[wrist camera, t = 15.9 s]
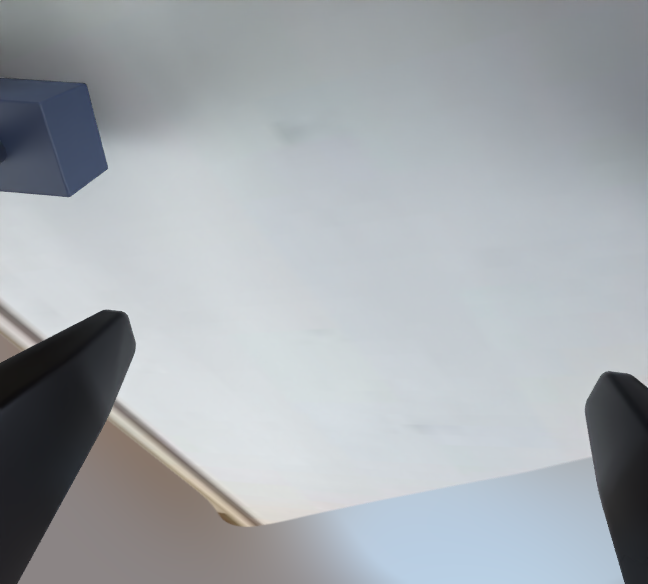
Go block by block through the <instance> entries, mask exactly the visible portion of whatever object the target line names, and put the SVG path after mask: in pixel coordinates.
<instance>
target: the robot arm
mask: <svg viewBox="0 0 648 584" xmlns="http://www.w3.org/2000/svg"><path fill="white" fill-rule="evenodd" d="M135 348H136V343H135V339H134V335H133V331H132V328H131V324H130V321H129V318H128V315H127V314H126V313H125V312H122V311H115V310H102V311H100V312H98V313H96V314H94V315H92V316H90V317H89V318H87V319H85V320H83V321H81V322H79V323H77V324H75V325H73V326H71V327H69V328H67V329H65V330H63V331H61V332H59V333H57V334H55V335H54V336H52V337H50V338H48V339H46V340H44V341H42V342H40V343H38V344H36V345H34V346H32V347H30V348H28V349H26V350H24V351H22V352H20V353H19V354H17V355H15V356H13V357H11V358H9V359H7V360H5V361H3V362H1V363H0V584H17V583H18V581H19V580H20V578H21V576H22V574H23V572H24V570H25V568H26V567H27V565H28V563H29V561H30V560H31V558H32V556H33V554H34V552H35V550H36V549H37V547H38V545H39V543H40V541H41V539H42V538H43V536H44V534H45V532H46V530H47V529H48V527H49V525H50V523H51V521H52V519H53V518H54V516H55V514H56V512H57V510H58V508H59V507H60V505H61V503H62V501H63V499H64V497H65V495H66V494H67V492H68V490H69V488H70V487H71V485H72V483H73V481H74V479H75V477H76V476H77V474H78V472H79V470H80V468H81V466H82V465H83V463H84V461H85V459H86V457H87V456H88V454H89V452H90V450H91V448H92V446H93V445H94V443H95V441H96V439H97V437H98V435H99V433H100V432H101V430H102V428H103V426H104V424H105V422H106V420H107V418H108V416H109V414H110V411H111V409H112V407H113V404H114V402H115V399H116V397H117V395H118V392H119V390H120V387H121V385H122V383H123V380H124V378H125V375H126V373H127V371H128V368H129V366H130V363H131V361H132V358H133V356H134V353H135ZM585 416H586V422H587V428H588V434H589V440H590V446H591V452H592V458H593V463H594V469H595V475H596V481H597V486H598V491H599V495H600V499H601V503H602V507H603V510H604V513H605V517H606V520H607V524H608V527H609V531H610V534H611V538H612V541H613V544H614V548H615V551H616V555H617V558H618V561H619V565H620V569H621V572H622V576H623V579H624V582H625V584H648V388H647V387H646V386H645V385H644V384H642V383H641V382H640V381H639V380H638V379H636V378H635V377H634V376H632V375H630V374H627V373H619V372H611V371H608V372H605V373H603V374H602V375H601V376H600V378H599V380H598V381H597V383H596V385H595V387H594V389H593V390H592V392H591V394H590V396H589V397H588V399H587V401H586V405H585Z"/></svg>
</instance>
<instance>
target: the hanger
mask: <svg viewBox="0 0 648 584" xmlns="http://www.w3.org/2000/svg"><path fill="white" fill-rule="evenodd" d="M107 169H108V166H107V162H106V158H105V154H104V150H103V147H102V143H101V139H100V135H99V131H98V127H97V123H96V119H95V115H94V112H93V108H92V104H91V100H90V96H89V92H88V88H87V85H86V84H85V83H73V82H58V81H42V80H27V79H11V78H0V191H5V192H16V193H28V194H39V195H51V196H62V197H70V196H72V195H73V194H75V193H76V192H77V191H79V190H80V189H81V188H83V187H84V186H85V185H87V184H88V183H89V182H91V181H92V180H93V179H95V178H96V177H98V176H99V175H100V174H102V173H103V172H104V171H106V170H107Z"/></svg>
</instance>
